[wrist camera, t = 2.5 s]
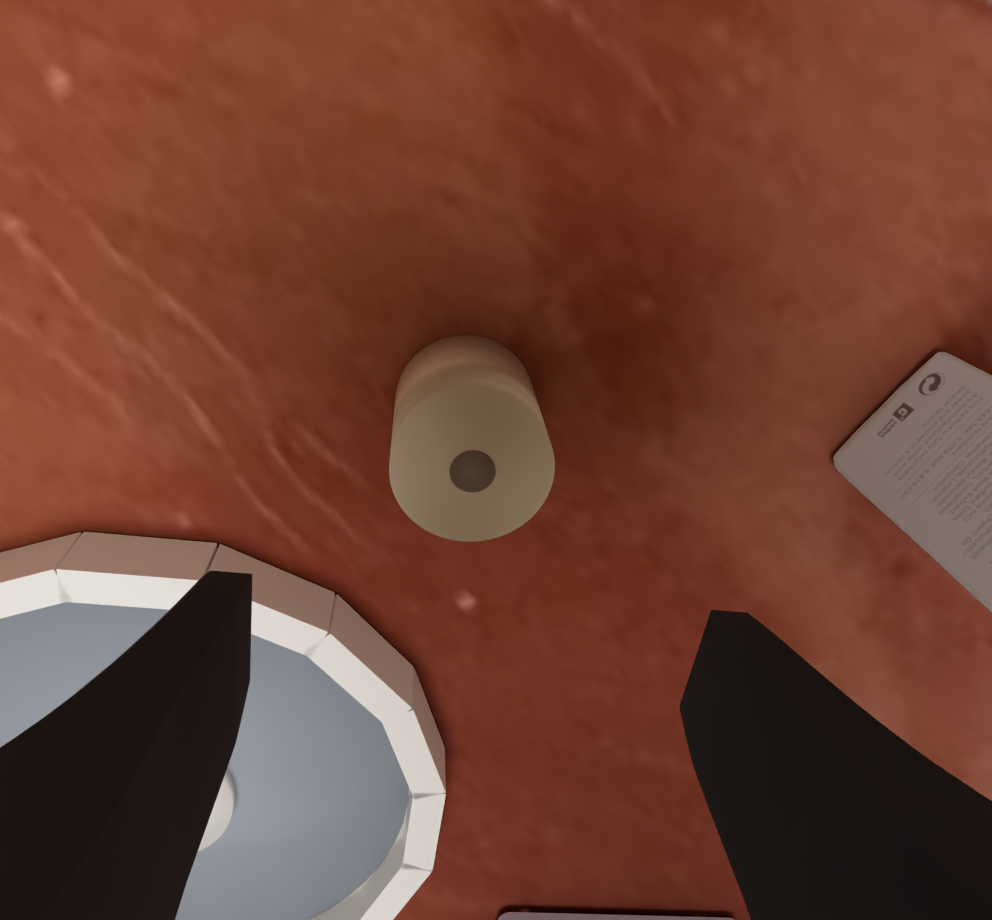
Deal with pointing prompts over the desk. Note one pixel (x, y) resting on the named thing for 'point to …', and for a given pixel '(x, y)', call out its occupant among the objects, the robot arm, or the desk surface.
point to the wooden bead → (469, 441)
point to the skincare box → (933, 466)
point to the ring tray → (251, 723)
